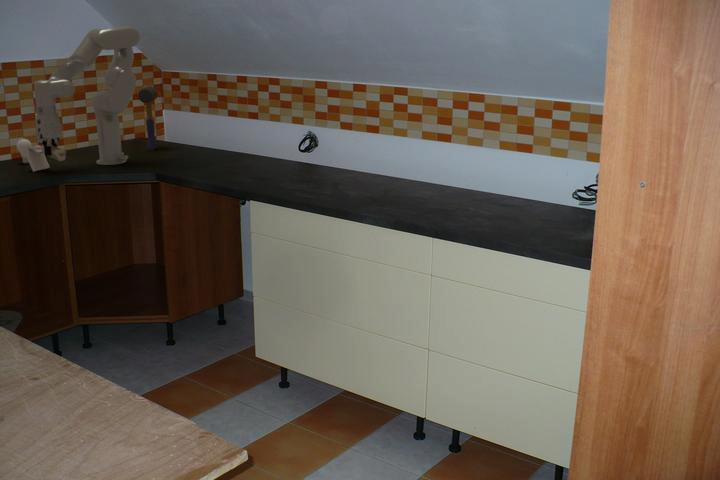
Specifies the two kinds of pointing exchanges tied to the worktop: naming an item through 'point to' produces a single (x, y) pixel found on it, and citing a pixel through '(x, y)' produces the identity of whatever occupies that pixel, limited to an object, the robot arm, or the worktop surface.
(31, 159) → the tile
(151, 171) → the worktop surface
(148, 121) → the rubber mallet
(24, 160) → the lightbulb
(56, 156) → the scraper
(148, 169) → the worktop surface
